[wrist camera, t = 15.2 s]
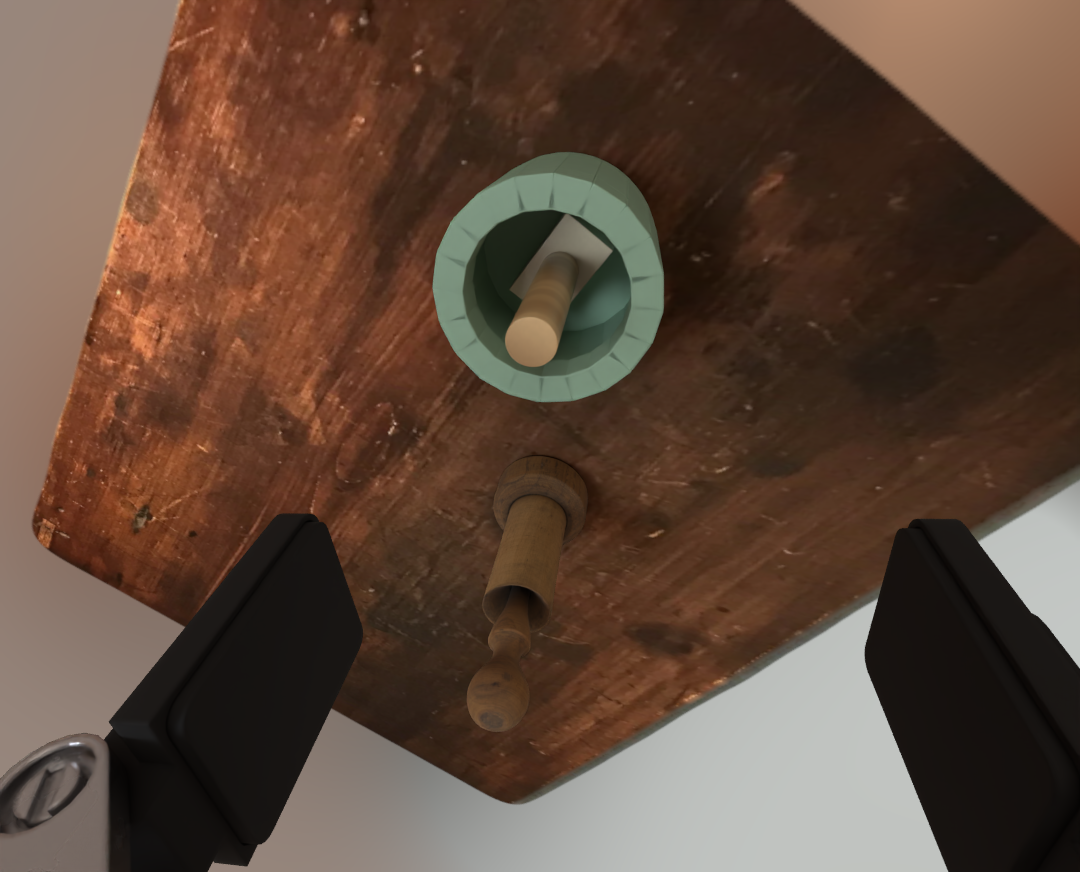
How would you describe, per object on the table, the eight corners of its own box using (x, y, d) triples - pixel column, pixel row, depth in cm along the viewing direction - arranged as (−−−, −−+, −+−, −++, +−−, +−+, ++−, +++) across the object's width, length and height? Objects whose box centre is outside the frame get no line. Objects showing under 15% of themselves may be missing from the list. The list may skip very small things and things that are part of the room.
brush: (572, 201, 32) (539, 264, 20) (615, 237, 32) (605, 317, 21) (518, 274, 34) (462, 366, 23) (559, 306, 35) (524, 410, 23)
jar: (464, 161, 32) (411, 185, 24) (656, 142, 30) (664, 161, 23) (491, 339, 37) (454, 405, 29) (656, 331, 35) (663, 399, 28)
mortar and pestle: (480, 484, 43) (395, 705, 28) (546, 438, 40) (492, 656, 25) (540, 542, 45) (491, 778, 30) (607, 502, 42) (592, 740, 27)
